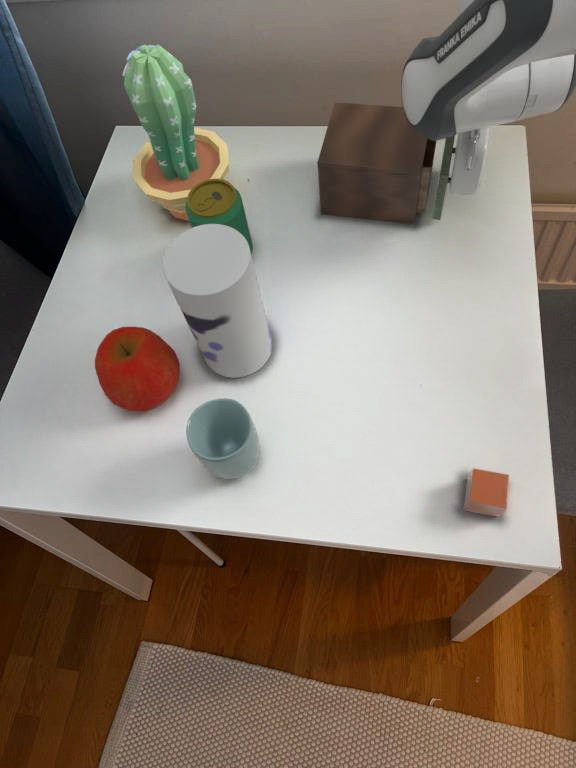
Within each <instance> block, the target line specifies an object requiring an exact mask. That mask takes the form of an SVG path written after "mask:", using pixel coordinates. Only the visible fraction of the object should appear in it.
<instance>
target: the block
mask: <svg viewBox="0 0 576 768" xmlns="http://www.w3.org/2000/svg"><path fill="white" fill-rule="evenodd" d="M509 478H510V475H509V474H506V473H500V472H496V471H490V470H485V469H480V468H472V470H471V472H470V473H469V474H468V477H467V478H466V485H465V486H466V487H465V495H464V503H463V504H464V505H463V511H467V512H471V513H476V514H482V515H486V516H491V517H496V518H499V517H500V516H501V515H502V514H503V513H504V511H505V510H506V509H507V507H508V505H507V504H508V491H509V481H510V479H509Z"/></svg>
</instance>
